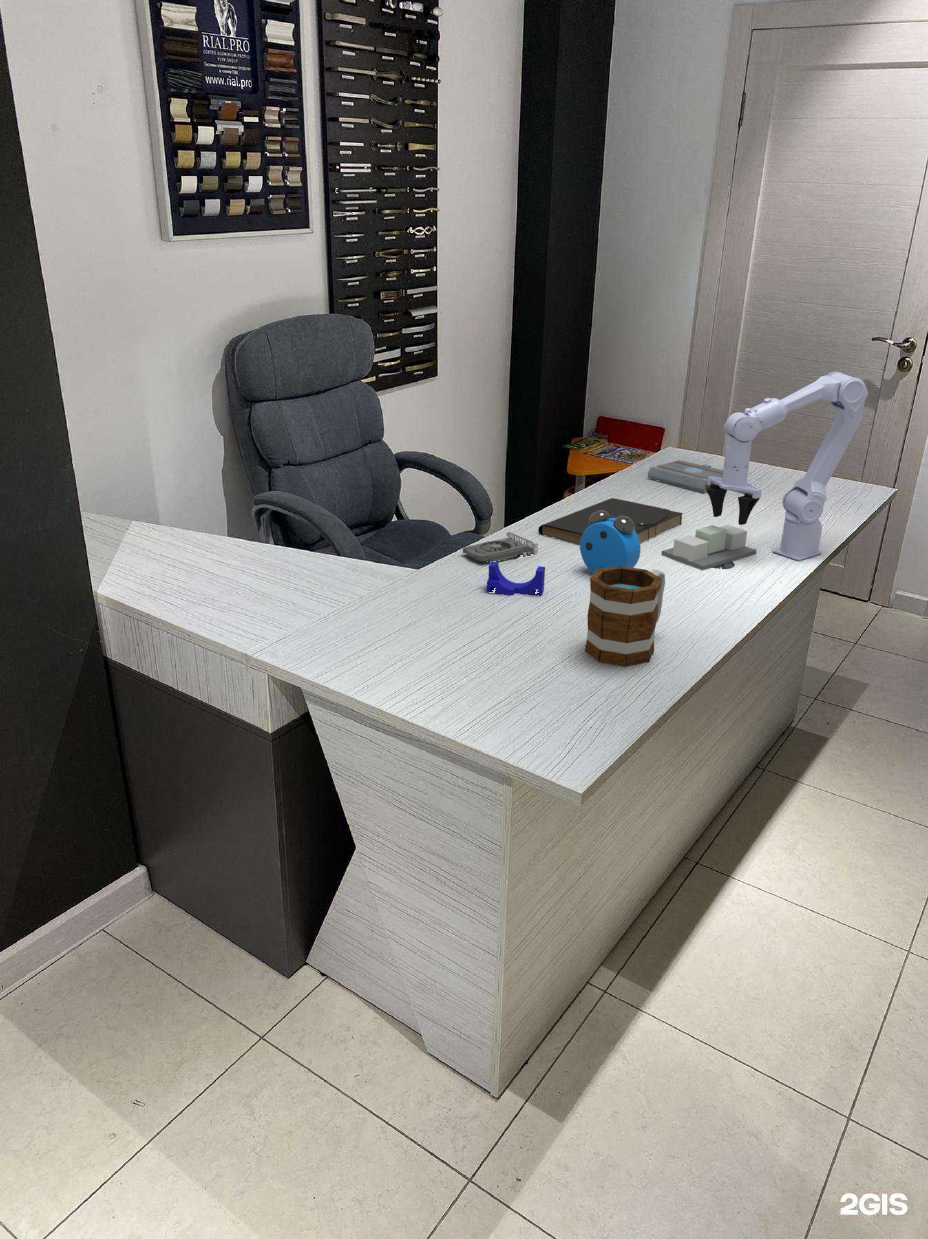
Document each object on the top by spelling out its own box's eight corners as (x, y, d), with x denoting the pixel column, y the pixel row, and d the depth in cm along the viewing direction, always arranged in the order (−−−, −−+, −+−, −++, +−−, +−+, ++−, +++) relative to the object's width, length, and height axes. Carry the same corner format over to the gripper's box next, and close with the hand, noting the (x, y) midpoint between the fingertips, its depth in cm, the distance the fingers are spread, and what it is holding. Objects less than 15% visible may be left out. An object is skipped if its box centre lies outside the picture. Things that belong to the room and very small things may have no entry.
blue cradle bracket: (486, 593, 210) (487, 568, 208) (491, 586, 214) (491, 561, 212) (540, 599, 208) (541, 573, 205) (543, 592, 212) (545, 566, 209)
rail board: (714, 539, 246) (715, 534, 245) (756, 553, 236) (756, 548, 235) (661, 554, 234) (662, 549, 234) (702, 570, 225) (703, 564, 224)
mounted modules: (725, 539, 243) (727, 524, 241) (745, 546, 238) (747, 530, 237) (672, 554, 231) (674, 539, 230) (691, 561, 227) (693, 546, 226)
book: (647, 481, 299) (648, 465, 297) (679, 472, 309) (681, 457, 307) (703, 495, 284) (704, 479, 282) (734, 486, 294) (736, 470, 292)
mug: (628, 673, 175) (635, 598, 169) (570, 650, 184) (574, 578, 178) (685, 641, 188) (694, 570, 182) (628, 622, 197) (635, 553, 191)
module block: (709, 544, 238) (712, 525, 236) (724, 549, 235) (726, 529, 233) (693, 548, 235) (696, 529, 233) (708, 554, 231) (710, 534, 229)
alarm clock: (638, 579, 219) (644, 516, 213) (623, 586, 215) (629, 522, 209) (592, 565, 227) (596, 504, 221) (576, 571, 223) (580, 510, 217)
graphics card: (510, 529, 241) (538, 542, 232) (509, 544, 243) (538, 556, 233) (454, 541, 233) (481, 555, 224) (454, 556, 234) (481, 570, 225)
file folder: (618, 541, 232) (538, 522, 247) (617, 557, 234) (538, 537, 248) (684, 511, 255) (607, 495, 270) (682, 526, 257) (606, 509, 271)
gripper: (701, 461, 228) (695, 515, 234) (750, 474, 217) (743, 530, 223) (720, 456, 232) (714, 510, 237) (770, 469, 221) (762, 525, 227)
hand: (729, 520), depth 230 cm, fingers open, 7 cm apart
